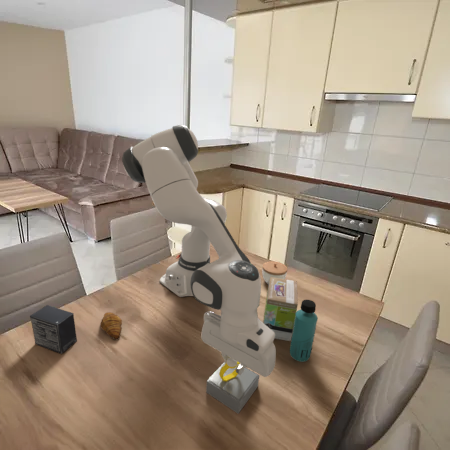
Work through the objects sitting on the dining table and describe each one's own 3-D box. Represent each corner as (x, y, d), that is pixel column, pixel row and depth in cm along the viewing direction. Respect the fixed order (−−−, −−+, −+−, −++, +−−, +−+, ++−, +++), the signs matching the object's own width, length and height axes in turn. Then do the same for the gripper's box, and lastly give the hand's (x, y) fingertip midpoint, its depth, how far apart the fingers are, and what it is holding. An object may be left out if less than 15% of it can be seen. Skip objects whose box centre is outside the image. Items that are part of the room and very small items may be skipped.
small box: (78, 340, 94) (75, 312, 91) (61, 354, 89) (57, 325, 85) (52, 331, 97) (47, 303, 94) (34, 344, 92) (28, 315, 88)
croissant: (96, 320, 104) (95, 307, 102) (116, 314, 108) (115, 302, 106) (105, 345, 94) (104, 331, 92) (127, 337, 97) (127, 324, 95)
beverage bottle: (297, 369, 89) (308, 312, 82) (283, 353, 95) (292, 299, 87) (314, 362, 92) (326, 306, 85) (299, 347, 97) (309, 294, 90)
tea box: (291, 342, 100) (298, 304, 94) (261, 336, 101) (266, 298, 96) (291, 314, 113) (297, 280, 108) (264, 309, 115) (269, 275, 110)
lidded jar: (256, 283, 132) (258, 264, 129) (266, 273, 141) (269, 255, 138) (279, 292, 127) (282, 272, 124) (288, 281, 136) (291, 262, 132)
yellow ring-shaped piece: (222, 387, 77) (223, 371, 74) (217, 378, 79) (218, 363, 76) (242, 376, 80) (244, 361, 77) (236, 368, 82) (238, 353, 79)
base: (206, 392, 80) (206, 380, 78) (227, 368, 88) (228, 357, 86) (238, 413, 75) (239, 401, 73) (257, 386, 83) (259, 374, 81)
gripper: (196, 314, 77) (195, 357, 82) (269, 352, 66) (262, 398, 71) (212, 303, 82) (209, 343, 87) (281, 336, 71) (274, 380, 76)
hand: (234, 368), depth 79 cm, fingers closed on yellow ring-shaped piece, 2 cm apart
